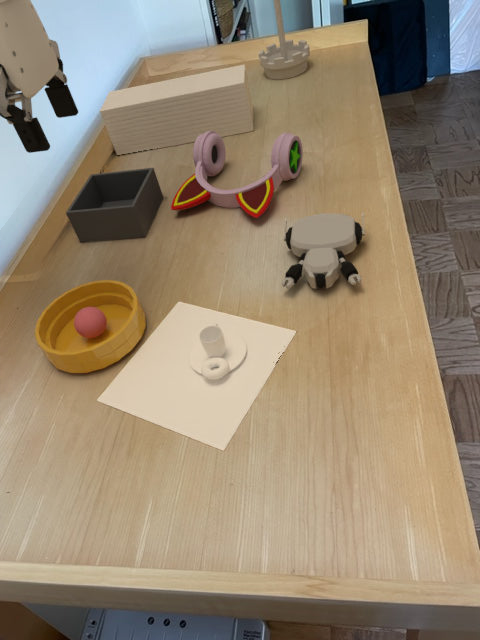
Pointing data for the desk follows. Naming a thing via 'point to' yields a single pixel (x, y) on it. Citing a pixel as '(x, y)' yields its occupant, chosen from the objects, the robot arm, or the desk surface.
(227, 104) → the stack of papers
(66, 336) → the bowl
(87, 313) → the toy ball
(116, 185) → the bin
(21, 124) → the robot arm
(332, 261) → the robot toy
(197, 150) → the headphones
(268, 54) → the flag stand
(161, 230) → the desk surface
